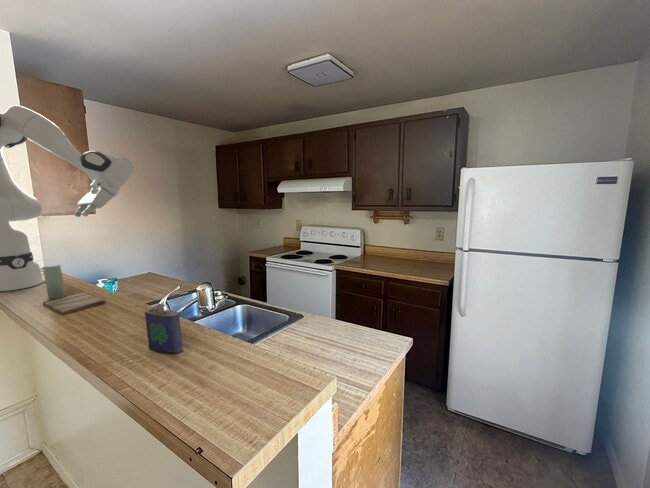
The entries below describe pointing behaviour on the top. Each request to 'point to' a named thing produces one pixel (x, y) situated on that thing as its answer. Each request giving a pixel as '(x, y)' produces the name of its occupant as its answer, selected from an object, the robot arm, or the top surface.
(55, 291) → the green rectangular block
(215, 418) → the top surface
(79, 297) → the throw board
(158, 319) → the flask
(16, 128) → the robot arm
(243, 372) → the top surface
